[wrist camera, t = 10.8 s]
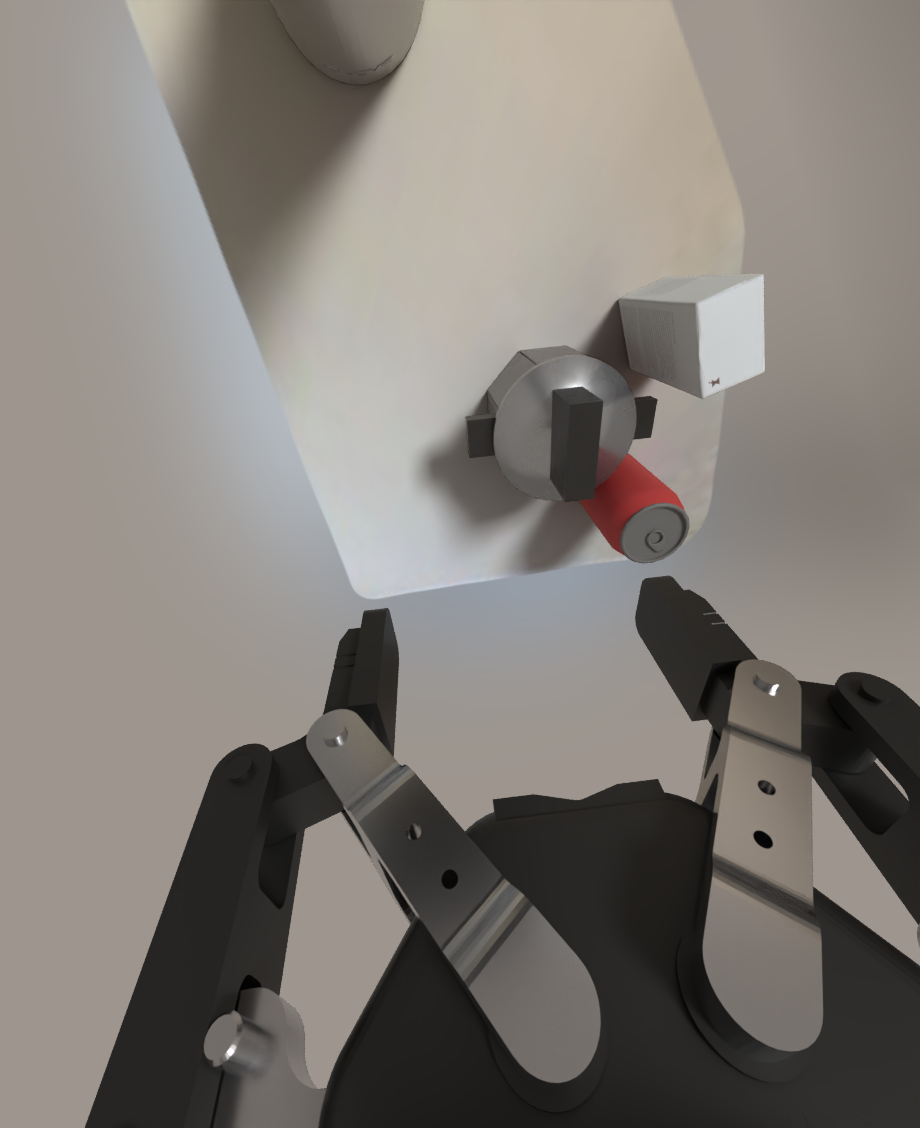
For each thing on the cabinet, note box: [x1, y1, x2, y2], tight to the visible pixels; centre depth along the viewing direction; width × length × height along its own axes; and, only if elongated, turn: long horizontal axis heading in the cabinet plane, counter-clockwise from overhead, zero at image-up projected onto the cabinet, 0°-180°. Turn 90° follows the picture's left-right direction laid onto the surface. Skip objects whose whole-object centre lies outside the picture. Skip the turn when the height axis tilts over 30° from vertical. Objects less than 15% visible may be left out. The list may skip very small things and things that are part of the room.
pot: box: [465, 346, 657, 458], centre depth 37 cm, size 10×15×7 cm, turn 95°
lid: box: [493, 355, 637, 502], centre depth 32 cm, size 11×11×5 cm
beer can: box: [579, 453, 689, 563], centre depth 39 cm, size 7×7×12 cm
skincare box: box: [618, 274, 765, 399], centre depth 31 cm, size 6×4×12 cm
